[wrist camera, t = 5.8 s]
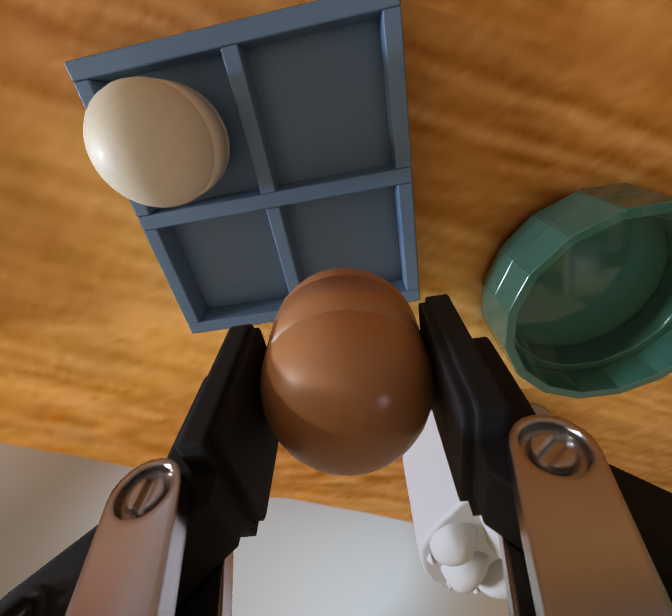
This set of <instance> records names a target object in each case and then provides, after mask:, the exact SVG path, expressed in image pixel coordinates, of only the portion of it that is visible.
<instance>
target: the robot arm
mask: <svg viewBox="0 0 672 616" xmlns="http://www.w3.org/2000/svg"><path fill="white" fill-rule="evenodd" d="M419 320H420V333H421V335H422V338H423V341H424V344H425V347H426V350H427V352H428V355H429V358H430V363H431V368H432V373H433V379H434V390H433V401H432V412H433V415H434V419H435V422H436V425H437V428H438V432H439V435H440V438H441V442H442V445H443V448H444V452H445V455H446V458H447V462H448V465H449V468H450V471H451V475H452V478H453V481H454V485H455V488H456V491H457V495H458V498H459V500H460V501H461V502H463V501H468V502H469V505H470V508H471V512H472V515H473V516H480V515H481V516H482V519H483V522H484V524H485V525H486V526H488V527H489V528H491V529H492V530H494V531H495V532H496V533H498V537H499V544H500V551H501V557H502V564H503V571H504V578H505V585H506V592H507V599H508V606H509V612H510V616H672V493H670V492H668V491H666V490H664V489H662V488H659V487H657V486H655V485H653V484H651V483H649V482H646V481H644V480H642V479H640V478H638V477H636V476H633V475H631V474H629V473H627V472H625V471H623V470H621V469H618V468H616V467H614V466H612V465H610V464H608V462H607V460H606V458H605V456H604V454H603V451H602V450H601V448H600V446H599V445H598V443H597V442H596V440H595V439H594V438H593V437H592V436H591V435H590V434H588V433H587V432H586V431H585V430H584V429H582V428H581V427H579V426H577V425H576V424H574V423H572V422H571V421H568V420H565V419H562V418H559V417H556V416H550V415H544V414H543V415H536V413H535V411H534V410H533V408H532V407H531V405H530V403H529V402H528V400H527V399H526V397H525V395H524V394H523V392H522V391H521V389H520V388H519V386H518V384H517V383H516V381H515V380H514V378H513V376H512V375H511V373H510V372H509V370H508V368H507V367H506V365H505V364H504V362H503V360H502V359H501V357H500V356H499V354H498V352H497V351H496V349H495V348H494V346H493V345H492V343H491V341H490V340H489V339H488V338H487V337H480V338H473V339H472V337H471V336H470V334H469V332H468V330H467V328H466V327H465V325H464V323H463V321H462V320H461V318H460V316H459V314H458V312H457V311H456V309H455V307H454V305H453V303H452V302H451V300H450V298H449V296H448V295H447V294H443V295H437V296H430V297H426V299H425V303H419ZM266 349H267V346H266V344H265V341H264V338H263V335H262V332H261V330H260V329H259V328H254V327H253V325H252V324H245V325H239V326H232V327H231V328H230V329H229V331H228V333H227V335H226V337H225V340H224V342H223V344H222V346H221V348H220V350H219V352H218V355H217V357H216V359H215V361H214V363H213V365H212V368H211V370H210V372H209V374H208V376H207V377H206V378H205V379H204V381H203V382H202V385H201V387H200V389H199V391H198V393H197V395H196V397H195V399H194V402H193V404H192V406H191V408H190V410H189V412H188V414H187V416H186V418H185V421H184V423H183V425H182V427H181V429H180V431H179V433H178V435H177V438H176V440H175V442H174V444H173V446H172V448H171V450H170V452H169V455H168V457H167V459H166V458H159V459H154V460H150V461H148V462H146V463H143V464H141V465H140V466H138V467H136V468H135V469H133V470H132V471H130V472H129V473H128V474H127V475H126V476H125V477H124V478H123V479H122V480H120V482H119V483H118V484H117V485H116V487H115V488H114V489H113V491H112V492H111V494H110V496H109V498H108V500H107V502H106V505H105V508H104V510H103V513H102V516H101V518H100V521H99V524H98V525H97V526H96V527H94V528H93V529H92V530H91V531H89V532H88V533H86V534H85V535H84V536H82V537H81V538H80V539H79V540H77V541H76V542H75V543H73V544H72V545H71V546H69V547H68V548H67V549H66V550H64V551H63V552H61V553H60V554H59V555H58V556H56V557H55V558H54V559H52V560H51V561H50V562H48V563H47V564H46V565H44V566H43V567H42V568H40V569H39V570H38V571H36V572H35V573H34V574H32V575H31V576H30V577H29V578H27V579H26V580H25V581H23V582H22V583H21V584H19V585H18V586H17V587H15V588H14V589H13V590H11V591H10V592H9V593H8V594H7V595H5V596H4V597H3V598H2V599H1V600H0V616H232V585H233V551H234V550H235V549H236V548H237V547H238V545H239V541H240V537H248V536H256V533H257V528H258V523H259V521H263V520H264V519H265V516H266V512H267V506H268V501H269V495H270V489H271V483H272V477H273V471H274V466H275V460H276V454H277V448H278V442H279V441H278V440H277V439H276V437H275V435H274V433H273V432H272V430H271V428H270V426H269V424H268V422H267V420H266V417H265V414H264V411H263V407H262V402H261V395H260V377H261V369H262V364H263V360H264V356H265V352H266Z"/></svg>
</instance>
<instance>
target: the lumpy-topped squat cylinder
mask: <svg viewBox="0 0 672 616" xmlns="http://www.w3.org/2000/svg"><path fill="white" fill-rule="evenodd" d="M530 405H531V407H532V408H533V410H534V411H535V413H536V415H543V414H544V415H550V413H549V412H548V411H547V410H546V409H545V408H543V407H541V406H538V405H534V404H530ZM550 416H551V415H550ZM403 464H404V470H405V476H406V482H407V488H408V493H409V499H410V505H411V511H412V517H413V523H414V528H415V534H416V540H417V546H418V552H419V556H420V560H421V563H422V566H423V568H424V570H425V571H426V573H427V574H428V575H429V576H430V577H431V578H432V579H433V580H435V581H436V582H437V583H439V584H441V585H442V586H444V587H447V588H449V589H450V590H452V589H454V590H456V591H457V592H459V593H471V592H473V593H475V594H478V593H479V591H480V590H481V591H482V592H484V593H485V594H487V595H489V596H491V597H493V598H498V599H507V592H506V585H505V578H504V571H503V564H502V557H501V551H500V544H499V537H498V533H496V532H495V531H494V530H492V529H491V528H489V527H488V526H486V525H485V524H484V522H483V519H482V516H481V515H480V516H473V515H472V512H471V508H470V505H469V502H468V501H463V502H461V501H460V500H459V498H458V495H457V491H456V488H455V485H454V481H453V478H452V475H451V471H450V468H449V465H448V462H447V458H446V455H445V452H444V448H443V445H442V442H441V438H440V435H439V432H438V428H437V425H436V422H435V419H434V415H433V412H432V409H431V411H430V414H429V417H428V419H427V422H426V425H425V427H424V430H423V432H422V433H421V434H420V436H419V437H418V439H417V440H416V441H415V443H414V444H413V445H412V446H411V448H410V449H409V450H408V451H407V452H406V453H405V454H404V455H403Z"/></svg>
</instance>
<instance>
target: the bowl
mask: <svg viewBox="0 0 672 616" xmlns="http://www.w3.org/2000/svg"><path fill="white" fill-rule="evenodd" d="M482 316H483V318H484V320H485V322H486V324H487V326H488V327H489V329H490V331H491V333H492V335H493V337H494V339H495V341H496V342H497V344H498V345H499V347H500V348H501V350H502V351H503V353H504V354H505V356H506V358H507V359H508V361H509V362H510V364H511V365H512V367H513V368H514V370H515V372H516V373H517V374H518V375H519V376H520V377H522V378H523V379H525V380H526V381H528V382H529V383H531V384H532V385H534V386H535V387H537V388H538V389H540V390H541V391H543V392H546V393H552V394H557V395H563V396H568V397H574V398H587V397H595V396H604V395H613V394H619V393H623V392H626V391H629V390H631V389H634V388H637V387H640V386H643V385H645V384H648V383H651V382H654V381H656V380H659V379H662V378H664V377H665V376H667V375H668V374H670V373H672V195H669V194H666V193H662V192H658V191H654V190H650V189H646V188H642V187H638V186H634V185H630V184H626V183H624V184H623V183H621V184H615V185H609V186H603V187H597V188H591V189H586V190H580V191H577V192H574V193H572V194H570V195H568V196H566V197H564V198H562V199H560V200H559V201H557V202H555V203H553V204H551V205H549V206H547V207H545V208H544V209H542V210H540V211H538V212H536V213H534V214H533V215H531V216H530V217H529V218H528V219H527V220H526V221H525V222H524V223H523V224H522V225H521V226H520V227H519V228H518V229H517V230H516V231H515V232H514V233H513V234H512V235H511V236H510V237H509V238H508V239H507V240H506V241H505V242H504V243H503V244H502V245H501V248H499V250H498V252H497V254H496V256H495V259H494V261H493V263H492V265H491V267H490V269H489V271H488V273H487V275H486V277H485V279H484V282H483V297H482Z"/></svg>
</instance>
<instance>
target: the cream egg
mask: <svg viewBox="0 0 672 616" xmlns="http://www.w3.org/2000/svg"><path fill="white" fill-rule="evenodd" d="M83 138H84V143H85V147H86V151H87V153H88V155H89V158H90V160H91V162H92V164H93V165H94V167H95V169H96V171H97V172H98V173H99V174H100V176H101V177H102V178H103V179H104V181H105V182H107V183H108V184H109V185H110V186H111V187H112V188H113V189H114V190H116V191H117V192H119V193H120V194H122V195H123V196H125V197H126V198H128V199H131V200H133V201H135V202H137V203H140V204H143V205H146V206H152V207H161V208H167V207H176V206H179V205H182V204H186V203H188V202H190V201H192V200H194V199H195V198H197V197H198V196H200V195H202V194H203V193H205V192H206V191H208V190H209V189H211V188H212V187H213V186H214V185H215V184H216V183H217V182H218V181H219V180H220V179H221V177H222V176H223V174H224V173H225V170H226V168H227V165H228V161H229V155H230V146H229V138H228V134H227V130H226V128H225V125H224V123H223V120H222V119H221V117H220V115H219V113H218V112H217V110H216V109H215V108H214V107H213V105H212V104H211V103H210V102H209V101H208V100H207V99H206V98H205V97H204V96H203V95H201V94H200V93H199V92H197V91H195V90H194V89H192V88H190V87H188V86H186V85H184V84H181V83H178V82H175V81H170V80H164V79H157V78H149V77H129V78H121V79H118V80H115V81H113V82H110V83H109V84H107V85H106V86H105V87H103V88H102V89H101V90H99V91H98V92H97V93H96V94H95V95H94V97H93V98H92V99H91V101H90V102H89V105H88V107H87V110H86V112H85V117H84V123H83Z"/></svg>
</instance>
